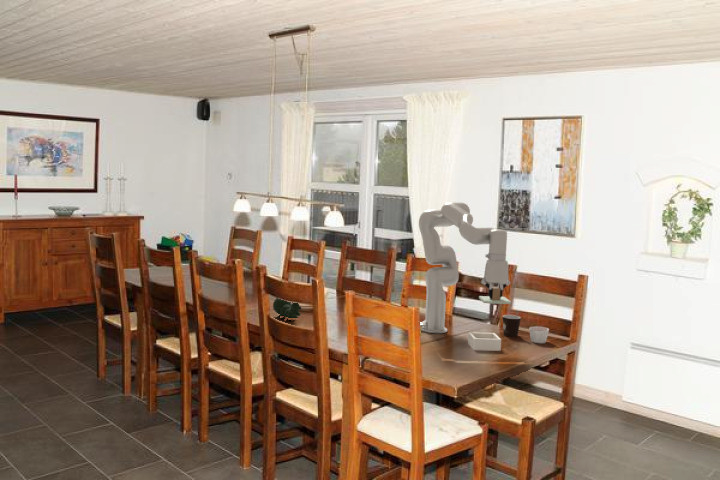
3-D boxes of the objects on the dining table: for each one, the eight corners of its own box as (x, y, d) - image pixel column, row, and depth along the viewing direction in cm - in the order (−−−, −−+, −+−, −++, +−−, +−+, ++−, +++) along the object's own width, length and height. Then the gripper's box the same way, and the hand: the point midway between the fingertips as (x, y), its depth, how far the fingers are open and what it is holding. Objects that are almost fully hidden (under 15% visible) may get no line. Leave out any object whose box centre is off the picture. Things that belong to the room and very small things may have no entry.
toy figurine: (304, 326, 344) (283, 312, 364) (307, 290, 340) (285, 278, 361) (287, 328, 339) (266, 314, 359) (290, 291, 335) (269, 279, 356)
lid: (484, 303, 298) (485, 289, 298) (478, 298, 310) (479, 285, 309) (511, 304, 298) (511, 290, 298) (504, 299, 310) (505, 286, 310)
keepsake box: (473, 352, 300) (474, 338, 299) (467, 345, 312) (468, 332, 311) (500, 352, 300) (501, 339, 300) (493, 345, 312) (494, 332, 312)
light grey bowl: (552, 343, 321) (553, 330, 321) (536, 344, 318) (537, 331, 317) (540, 338, 330) (541, 326, 329) (524, 340, 326) (525, 327, 325)
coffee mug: (519, 340, 325) (521, 319, 324) (501, 338, 327) (502, 318, 326) (519, 334, 337) (520, 314, 336) (501, 333, 339) (502, 313, 338)
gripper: (480, 257, 298) (478, 299, 300) (517, 259, 299) (515, 300, 301) (477, 255, 306) (475, 296, 308) (513, 256, 306) (511, 297, 308)
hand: (494, 297), depth 304 cm, fingers closed on lid, 3 cm apart
